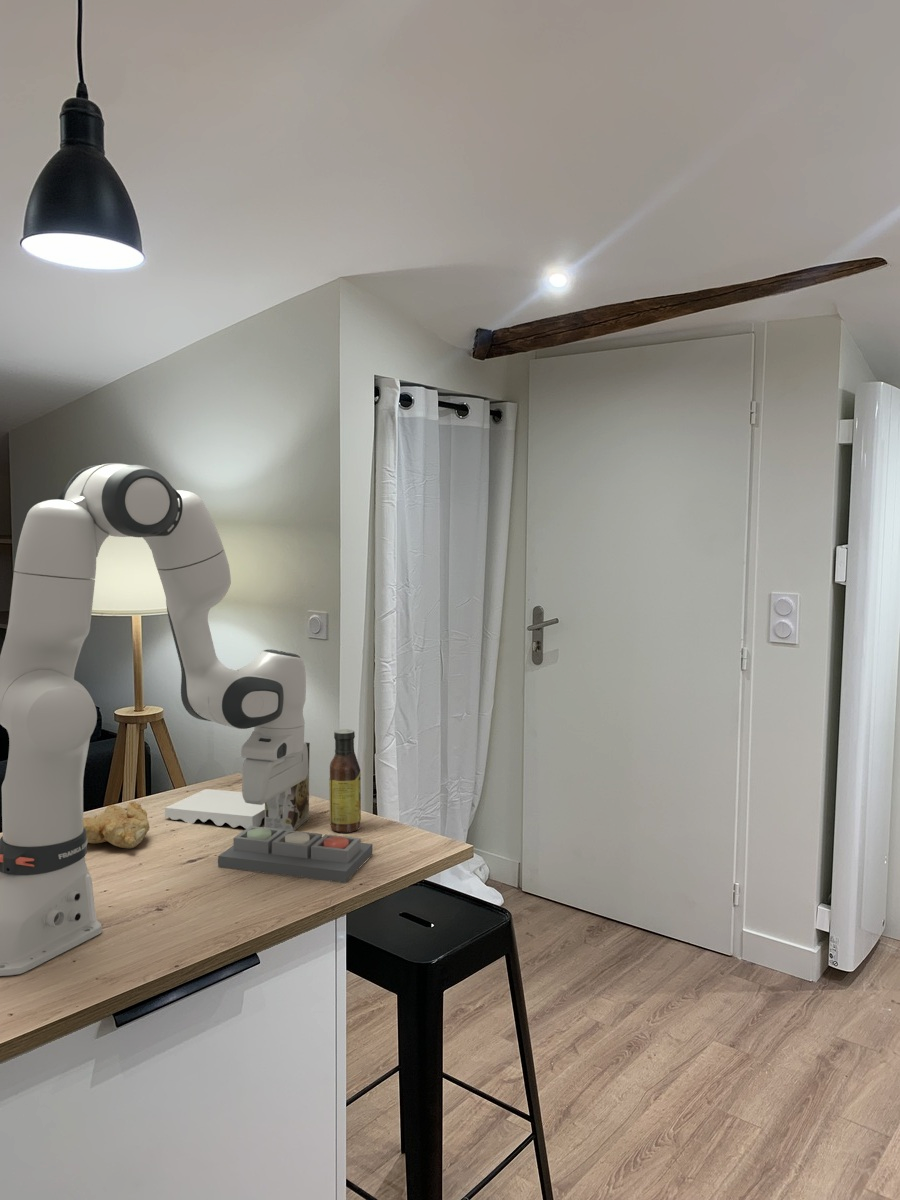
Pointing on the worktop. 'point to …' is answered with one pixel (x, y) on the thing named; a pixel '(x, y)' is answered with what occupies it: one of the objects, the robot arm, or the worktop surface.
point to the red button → (336, 842)
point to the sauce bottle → (345, 784)
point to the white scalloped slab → (217, 809)
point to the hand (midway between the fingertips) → (276, 815)
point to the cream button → (297, 838)
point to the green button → (259, 833)
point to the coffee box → (292, 807)
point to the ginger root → (118, 826)
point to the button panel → (296, 856)
